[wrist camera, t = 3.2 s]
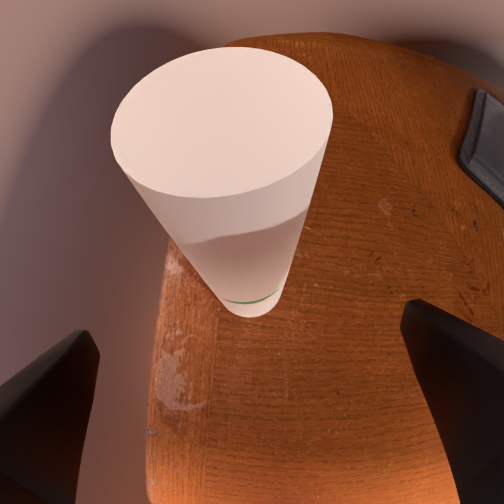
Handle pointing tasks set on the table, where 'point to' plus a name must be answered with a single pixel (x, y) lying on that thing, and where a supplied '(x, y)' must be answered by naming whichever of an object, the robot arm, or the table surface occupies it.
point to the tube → (228, 163)
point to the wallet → (485, 145)
